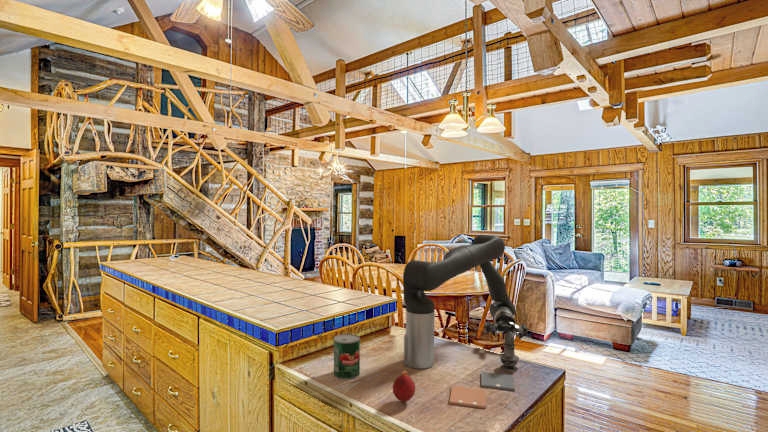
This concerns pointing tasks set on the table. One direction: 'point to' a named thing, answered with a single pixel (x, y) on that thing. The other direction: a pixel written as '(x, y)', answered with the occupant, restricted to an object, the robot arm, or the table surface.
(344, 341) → the canned tomato
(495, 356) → the table surface
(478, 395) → the tile two
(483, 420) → the table surface
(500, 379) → the tile one
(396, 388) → the onion
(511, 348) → the salt shaker
